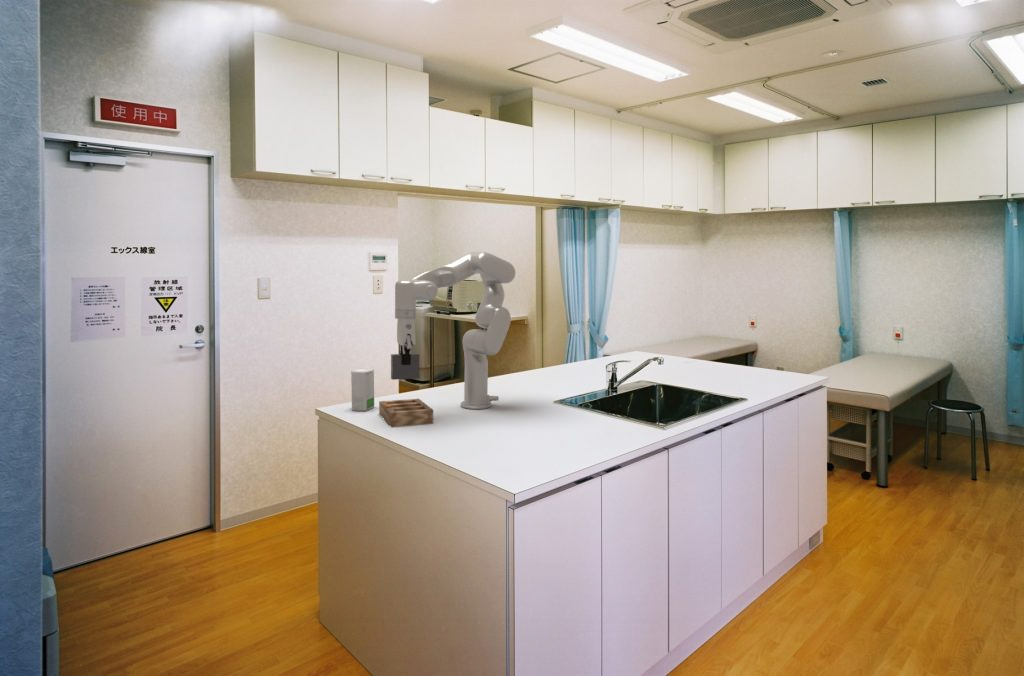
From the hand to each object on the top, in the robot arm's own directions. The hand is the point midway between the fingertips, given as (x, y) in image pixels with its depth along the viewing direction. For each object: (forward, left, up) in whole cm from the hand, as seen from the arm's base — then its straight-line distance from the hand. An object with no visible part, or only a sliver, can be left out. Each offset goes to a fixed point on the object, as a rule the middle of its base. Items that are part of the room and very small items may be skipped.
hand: (405, 363), depth 226 cm
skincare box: (+12, -21, -21) cm, 32 cm away
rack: (0, 0, -21) cm, 21 cm away
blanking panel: (0, 0, -5) cm, 5 cm away
